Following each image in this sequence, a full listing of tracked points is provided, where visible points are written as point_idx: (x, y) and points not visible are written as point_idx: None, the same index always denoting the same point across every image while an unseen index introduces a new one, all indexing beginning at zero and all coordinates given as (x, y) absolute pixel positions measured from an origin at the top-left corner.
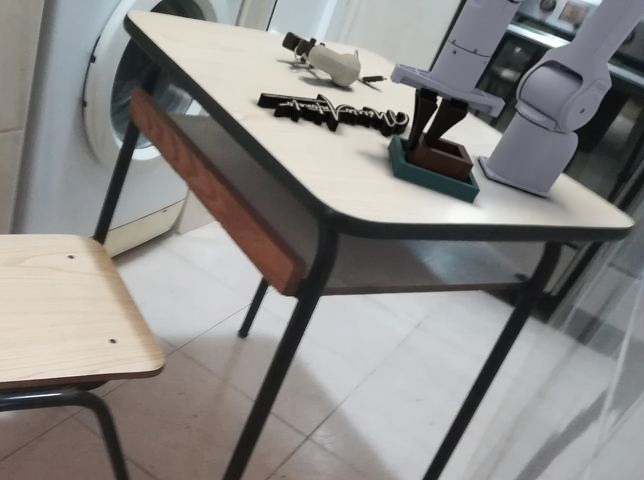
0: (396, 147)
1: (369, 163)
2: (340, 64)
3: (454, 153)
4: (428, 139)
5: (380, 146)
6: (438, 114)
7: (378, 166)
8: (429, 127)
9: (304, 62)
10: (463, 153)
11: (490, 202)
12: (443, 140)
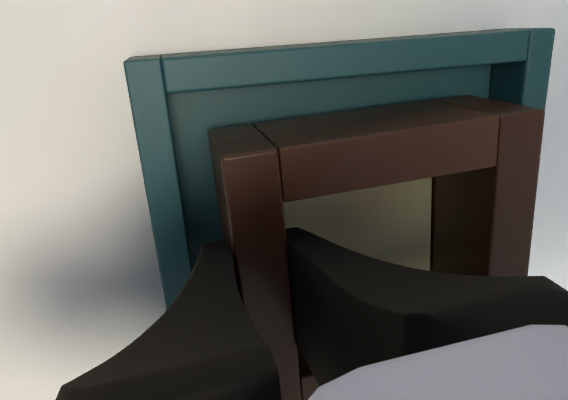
0: (157, 253)
1: (70, 359)
2: None
3: (470, 172)
4: (303, 339)
5: (87, 81)
6: (354, 359)
7: (113, 350)
8: (310, 258)
9: None
10: (502, 258)
11: (558, 242)
12: (416, 169)
